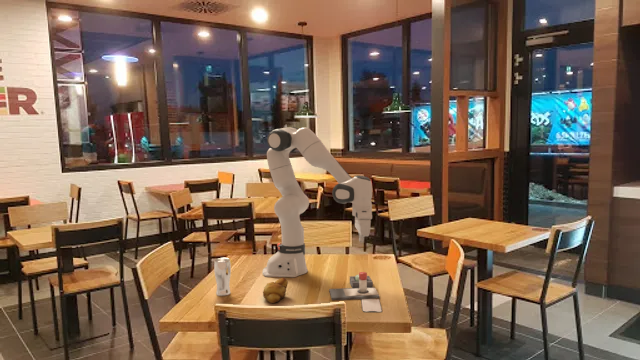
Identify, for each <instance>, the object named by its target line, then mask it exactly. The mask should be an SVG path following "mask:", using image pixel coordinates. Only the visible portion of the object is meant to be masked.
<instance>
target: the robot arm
mask: <svg viewBox="0 0 640 360" xmlns="http://www.w3.org/2000/svg"><path fill="white" fill-rule="evenodd" d="M266 141H267V146H268V147H269V148H268V150H267V151H266V160H267V164H268V169H269V172H270V173H269V174H270V175H271V179H272V183H273V185H274V187H275V188H276V189H277V190H278V192H279V193H280V195H281V197H280V198H278V200H277V201H276V202H275V203H274V206H273V210H274V211H273V212H274V214H275V215H276V216H277V218H278V220H279V224H280V229H281V230H280V231H281V243H280V242H278V243H277V245H276V247H277V252H276V253H275V252H274V254H273V255H271V257H268V260H267V263H266V266H265V267H264V268H263V269H262V276H264V277H268V278H269V277H270V278H271V277H274V278H275V277H277V278H278V277H279V278H296V277H298V276H301V275H305V274H307V273H308V272H309V271H308V267H307V263H306V256H305V255H306V244H305V228H304V225H302V222H301V221H302V220H301V218H300V215H301V214H303V213H304V212H306V210H307V209H308V208H309V205H310V199H309V197H308V196H307V195H306V194H305V193H304V191H303V190H302V188H301V186H300V184H299V182H298V181H297V178H296V174H295V172H294V169H293V166H292V163H291V160H290V153H294V152H295V151H297V150H298V151H299V153H300V155H302V157H303V158H304V160H305V161H306V162H307V163H308V164H310V165H311V166H313V167H315V168H320V169H323V170H325V171H326V172H328V173H329V174H330V175H331V176H332V177H333V178H334V179H335V180H336V182H337V184H335V185H334V187H333V189H332V191H331V193H332V197H333V200H334V201H335V202H336V203H338V204H347V203H352V205H351V207H352V209H351V211H352V213H351V215H352V217H354V227H355V229H356V230H357V232H358V241H359V243H364V242H365V237H369V236H370V232H371V223H372V221H371V220H372V219H373V203H372V198H373V183H372V180H371V178H369V177H367V176H366V175H365V176H364V175H354V177H352V176H351V175H350V174H349V173H348V172H347V171H346V170H345V168H344V167H343V166H342V165H341V163H339V161H338V160H337V159H336V158H335V157H334V155H332V153H331V152H330V151H329V149H327V147H326V146H325V145H324V143H323V141H322V140H321V139H320V138H319V137H318V135H317V134H316V133H315V132H313V130H311V129H310V128H309V127H300V128H298V127H294V126H291V127H290V126H289V127H286V126H285V127H283V128H282V127H281V128H276V129H272V131H270V132H269V133H268V135H267V138H266Z"/></svg>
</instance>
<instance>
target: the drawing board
mask: <svg viewBox="0 0 640 360" xmlns="http://www.w3.org/2000/svg"><path fill="white" fill-rule="evenodd" d="M328 291H329V295H330V299H331V301H343V300H344V301H347V300H348V301H350V300H361V299H380V297H381V296H380V294H379V292H378V291H377V289H376V287H374V286H373V287H367V292H365V293H362V292H359V288H352V287H346V288H345V287H344V288H329V290H328Z"/></svg>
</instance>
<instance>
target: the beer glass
mask: <svg viewBox="0 0 640 360" xmlns="http://www.w3.org/2000/svg"><path fill="white" fill-rule="evenodd" d="M231 265H232V264H231V259H230V258H228V257H220V258H216V259H214V265H213V266H214V268H213V269H214V270H213V272H214V277H215V283H216V292H215V294H216V296H218V297H226V296H229V295H230V294H231V287H230V281H231V274H232V273H231V270H232V269H231V268H232V267H231Z"/></svg>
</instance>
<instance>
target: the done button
mask: <svg viewBox="0 0 640 360" xmlns="http://www.w3.org/2000/svg"><path fill="white" fill-rule="evenodd" d="M354 276H355V282H358V281H359V274H356V275H354Z"/></svg>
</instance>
